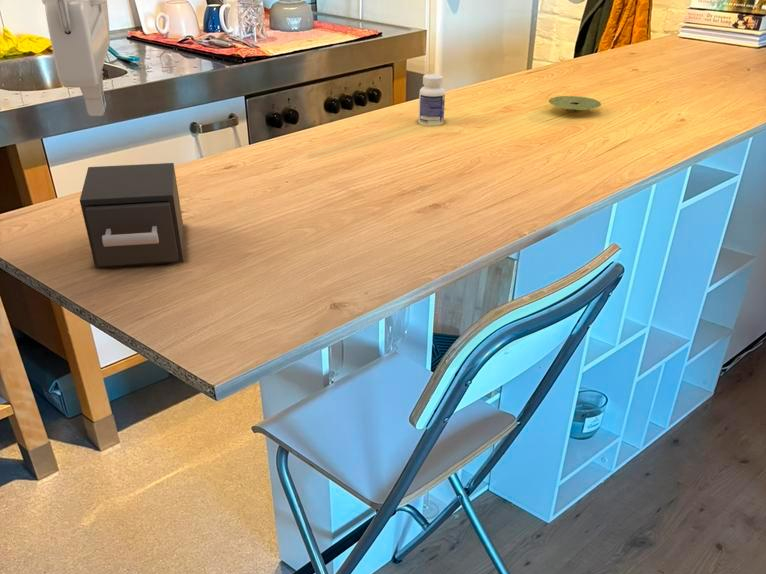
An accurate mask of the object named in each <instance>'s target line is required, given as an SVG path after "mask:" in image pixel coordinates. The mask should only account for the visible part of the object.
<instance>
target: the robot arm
mask: <svg viewBox="0 0 766 574" xmlns="http://www.w3.org/2000/svg"><path fill="white" fill-rule="evenodd" d="M41 1H42V2H41V3H42V4H43V5H44V9H45V10H44V11H45V17H46V23H47V29H48V34H49V38H50V44H51V50H52V54H53V59H54V63H55V68H56V73H57V76H58V79H59V82H60V83H61V86H63V87H64V88H70V89H71V88H79V89H80V92H81V94H82V97H83V100H84V104H85V107H86V113H87V114H88V116H90V117H102V116H104V115H105V111H106V109H107V108H106V107H107V103H106V98H105V93H104V78H103V68H104V65H105V61H106V58H107V55H108V52H109V49H110V45H111V33H110V20H109V9H108V0H41Z"/></svg>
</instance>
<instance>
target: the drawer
mask: <svg viewBox="0 0 766 574" xmlns="http://www.w3.org/2000/svg"><path fill="white" fill-rule="evenodd" d="M85 212H86V216H87V221H88V225H89V229H90V234H91V238H92V242H93V247H94V251H95V255H96V260H97V264H98V266H111V265H126V264H141V263H155V262H170V261H178V251H177V245H176V239H175V233H174V226H173V220H172V214H171V208H170V202H168V201H160V202H142V203H124V204H106V205H93V206H92V207H86V209H85Z"/></svg>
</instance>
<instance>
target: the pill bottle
mask: <svg viewBox="0 0 766 574" xmlns="http://www.w3.org/2000/svg"><path fill="white" fill-rule="evenodd" d="M443 79H444V77H443V75H441V74H439V73H428V74H424V75H423V76H422V85H423V86H422V87H420V89H419V96H418V124H419V125H422V126H426V127H427V126H428V127H437V126H441V125H443V124H444V120H445V105H446V104H445V103H446V102H445V101H446V90H445V88H444V87H442V85H443V81H444V80H443Z"/></svg>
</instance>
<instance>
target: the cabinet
mask: <svg viewBox="0 0 766 574" xmlns="http://www.w3.org/2000/svg"><path fill="white" fill-rule="evenodd" d="M175 169H176V168H175V163H174V162H168V163H167V162H162V163H145V164H143V163H142V164H124V165H123V164H122V165H103V166H101V165H100V166H88V167H87V171H86V175H85V178H84V182H83V186H82V190H81V194H80V197H79V203H80V208H81V212H82V217H83V222H84V225H85V230H86V234H87V238H88V242H89V243H88V244H89V247H90V250H91V255H92V260H93V263H94V264H93V265H94V269H105V268H119V267H120V268H121V267H132V266H133V267H135V266H136V267H137V266H148V265H149V266H150V265H151V266H152V265H165V264H166V265H167V264H178V263H179V264H180V263H185V262H184V261H185V260H184V259H185V257H184V256H185V254H184V253H185V252H184V250H185V249H184V247H185V246H184V223H183V216H182V209H181V202H180V195H179V189H178V183H177V176H176V170H175ZM160 201H168V202H170V208H171V214H172V220H173V226H174V233H175V239H176V245H177V251H178V261H170V262H155V263H141V264H126V265H111V266H98V264H97V260H96V255H95V251H94V247H93V242H92V238H91V234H90V229H89V225H88V221H87V216H86V212H85V209H86V207H92V206H93V205H106V204H124V203H142V202H160Z"/></svg>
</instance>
